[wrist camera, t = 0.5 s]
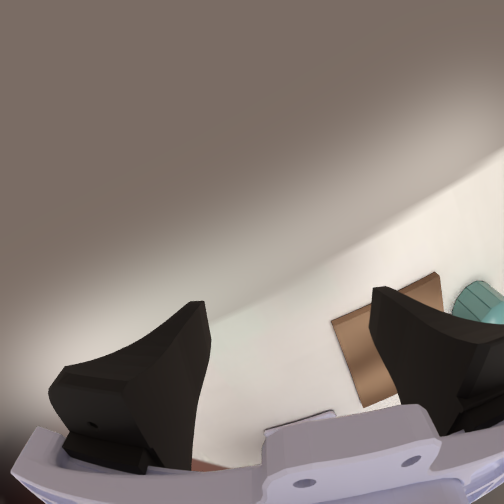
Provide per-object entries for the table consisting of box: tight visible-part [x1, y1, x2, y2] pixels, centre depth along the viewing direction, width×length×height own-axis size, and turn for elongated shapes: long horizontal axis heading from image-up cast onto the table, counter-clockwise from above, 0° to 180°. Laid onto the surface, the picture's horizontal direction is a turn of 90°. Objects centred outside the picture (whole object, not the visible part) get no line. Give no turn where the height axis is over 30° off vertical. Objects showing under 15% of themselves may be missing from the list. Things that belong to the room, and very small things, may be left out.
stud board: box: [331, 272, 444, 408], centre depth 22 cm, size 12×10×4 cm
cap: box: [452, 281, 504, 324], centre depth 21 cm, size 5×5×4 cm
